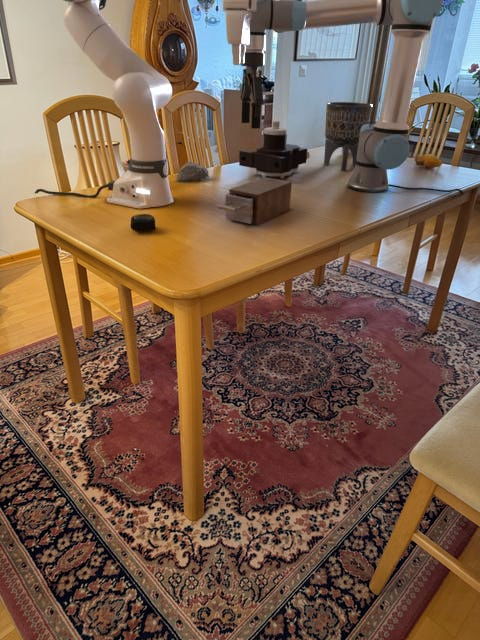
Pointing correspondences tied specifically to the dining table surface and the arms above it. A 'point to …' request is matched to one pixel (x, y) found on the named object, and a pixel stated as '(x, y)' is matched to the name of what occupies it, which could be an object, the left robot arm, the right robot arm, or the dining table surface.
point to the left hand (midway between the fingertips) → (238, 64)
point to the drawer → (239, 208)
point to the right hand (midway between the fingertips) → (250, 125)
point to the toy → (428, 161)
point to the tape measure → (142, 222)
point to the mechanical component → (274, 154)
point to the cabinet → (266, 197)
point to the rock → (192, 172)
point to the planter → (344, 129)
